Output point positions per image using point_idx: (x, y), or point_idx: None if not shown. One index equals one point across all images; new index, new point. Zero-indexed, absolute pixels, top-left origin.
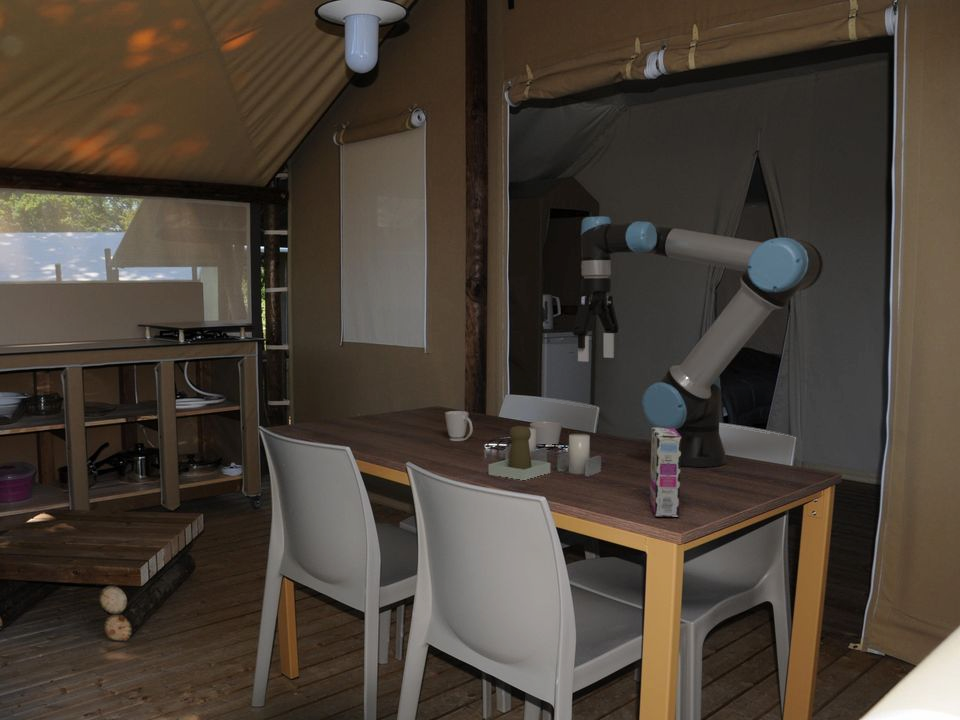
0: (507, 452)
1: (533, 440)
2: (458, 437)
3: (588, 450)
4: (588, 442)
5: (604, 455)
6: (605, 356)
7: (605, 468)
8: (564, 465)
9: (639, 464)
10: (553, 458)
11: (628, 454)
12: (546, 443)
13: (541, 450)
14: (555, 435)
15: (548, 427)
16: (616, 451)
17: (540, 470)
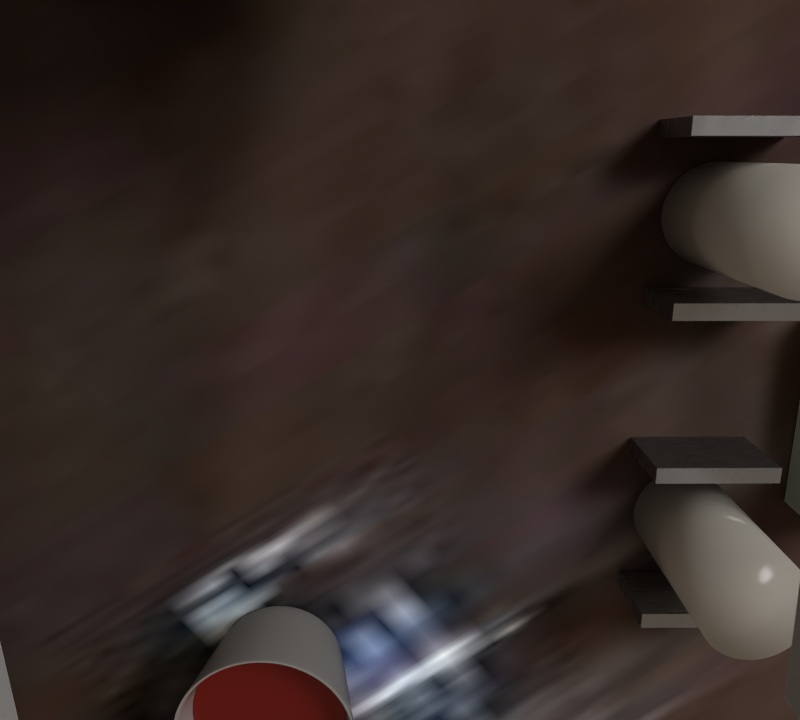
0: None
1: (740, 527)
2: None
3: (770, 163)
4: (796, 164)
5: (281, 322)
6: (5, 716)
7: (565, 148)
8: (735, 291)
9: (364, 49)
10: (508, 476)
11: (170, 235)
12: (330, 637)
13: (706, 465)
14: (287, 636)
15: (329, 683)
16: (146, 327)
17: None
